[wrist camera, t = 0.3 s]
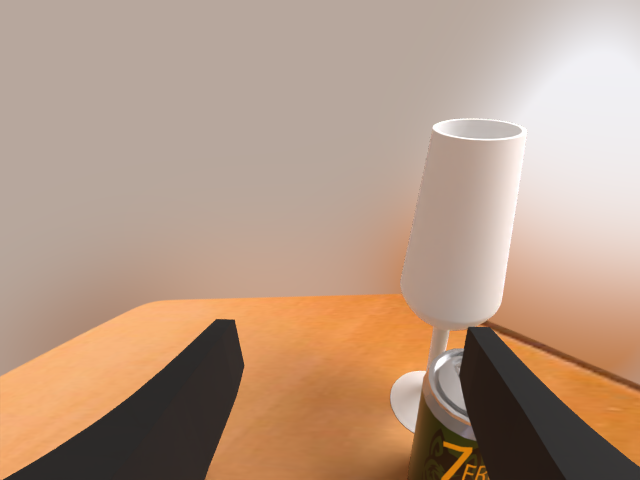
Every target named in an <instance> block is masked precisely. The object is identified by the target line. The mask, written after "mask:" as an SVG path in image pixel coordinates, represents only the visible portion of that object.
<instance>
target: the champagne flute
mask: <svg viewBox="0 0 640 480" xmlns="http://www.w3.org/2000/svg"><path fill="white" fill-rule="evenodd" d="M526 137H527V129H526V128H524V127H523V126H520V125H518V124H514V123H510V122H506V121H499V120H490V119H455V120H447V121H442V122H439V123H437V124H435V125H434V126H433V129H432V134H431V139H430V144H429V148H428V153H427V158H426V163H425V167H424V172H423V177H422V181H421V186H420V191H419V196H418V200H417V205H416V210H415V215H414V219H413V224H412V229H411V234H410V238H409V243H408V248H407V253H406V258H405V262H404V267H403V271H402V276H401V281H400V285H401V291H402V294H403V297H404V299H405V301H406V302H407V304H408V305H409V307H410V308H411V309H412V311H413V312H414V313H415V314H416V315H417V316H418V317H419V318H420V319H421V320H423V321H425V322H426V323H428V324H430V325H432V326H433V327H434V328H433V334H432V340H431V346H430V352H429V358H428V364H427V370H428V368H429V367H430V365H431V363H432V362H433V360H434V358H436V357H437V356H438V355H440V354H441V353H442V352H445V351H446V346H447V341H448V336H449V331H458V330H466V329H468V327H475V326H477V325H479V324H481V323H483V322H485V321H486V320H488V319H489V318H491V317H492V316H493V315H494V314H495V313H496V311H497V310H498V308H499V307H500V305H501V301H502V295H503V289H504V282H505V275H506V268H507V262H508V255H509V249H510V242H511V236H512V229H513V222H514V216H515V209H516V202H517V196H518V190H519V183H520V177H521V170H522V164H523V157H524V150H525V144H526ZM427 370H426V371H414V372H410V373H407V374H405V375H403V376H401V377H400V378H399V379H398V380H397V381H396V382H395V383H394V385H393V387H392V389H391V394H390V400H391V406H392V409H393V411H394V413H395V415H396V417H397V418H398V419H399V421H400V422H401V423H402V424H403V425H404V426H405V427H406V428H407V429H409V430H410V431H412V432H413V433H414V432H415V426H416V420H417V414H418V408H419V401H420V395H421V389H422V383H423V377H424V375H425V374H426V372H427Z"/></svg>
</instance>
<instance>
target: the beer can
mask: <svg viewBox="0 0 640 480" xmlns="http://www.w3.org/2000/svg"><path fill="white" fill-rule="evenodd" d="M463 351H464V349H451V350H448V351H445V352H442V353H441V354H440V355H438V356H437V357H436V358H434V360H433V362H432V363H431V365H430V367H429V368H428V370H427V372H426V374H425V375H424V377H423V383H422V389H421V395H420V401H419V408H418V414H417V420H416V426H415V432H414V439H413V445H412V451H411V457H410V463H409V470H408V480H489V477H488V474H487V471H486V468H485V465H484V462H483V459H482V456H481V453H480V450H479V447H478V444H477V441H476V438H475V435H474V432H473V429H472V426H471V423H470V420H469V417H468V414H467V411H466V407H465V402H464V398H463V393H462V388H461V383H460V378H459V372H460V367H461V362H462V356H463Z"/></svg>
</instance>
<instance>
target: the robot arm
mask: <svg viewBox="0 0 640 480" xmlns="http://www.w3.org/2000/svg"><path fill="white" fill-rule="evenodd" d="M243 369H244V362H243V357H242V352H241V348H240V343H239V338H238V333H237V329H236V324H235V320H227V319H216V320H215V321H214V322H213V323H212V324H211V325H210V326H209V327H207V328H206V329H205V330H204V331H203V332H202V333H201V334H200V335H199V336H198V337H197V338H196V339H195V340H194V341H193V342H192V343H191V344H190V345H188V346H187V347H186V348H185V349H184V350H183V351H182V352H181V353H180V354H179V355H178V356H177V357H176V358H174V359H173V360H172V361H171V362H170V363H169V364H168V365H167V366H166V367H165V368H163V369H162V370H161V371H160V372H159V373H158V374H156V375H155V376H154V377H153V378H152V379H150V380H149V381H148V382H147V383H146V384H145V385H143V386H142V387H141V388H140V389H139V390H138V391H136V392H135V393H134V394H133V395H131V396H130V397H129V398H127V399H126V400H125V401H124V402H122V403H121V404H120V405H118V406H117V407H116V408H114V409H113V410H112V411H110V412H109V413H107V414H106V415H105V416H103V417H102V418H101V419H99V420H98V421H96V422H95V423H94V424H92V425H91V426H89V427H88V428H86V429H85V430H83V431H81V432H80V433H78V434H77V435H75V436H74V437H72V438H71V439H69V440H68V441H66V442H65V443H63V444H62V445H60V446H59V447H57V448H56V449H54V450H52V451H51V452H49V453H48V454H46V455H44V456H43V457H41V458H39V459H38V460H36V461H34V462H33V463H31V464H29V465H28V466H26V467H24V468H23V469H21V470H19V471H17V472H16V473H14V474H12V475H10V476H9V477H7V478H5V479H3V480H205V477H206V474H207V471H208V468H209V466H210V463H211V461H212V458H213V456H214V453H215V451H216V448H217V445H218V443H219V440H220V438H221V435H222V433H223V430H224V428H225V425H226V422H227V420H228V417H229V415H230V412H231V409H232V407H233V404H234V402H235V399H236V396H237V392H238V389H239V385H240V381H241V377H242V373H243ZM459 378H460V383H461V388H462V393H463V398H464V402H465V407H466V411H467V414H468V417H469V420H470V423H471V426H472V429H473V432H474V435H475V438H476V441H477V444H478V447H479V450H480V453H481V456H482V459H483V462H484V465H485V468H486V471H487V474H488V477H489V480H640V467H639V466H637V465H636V464H635V463H634V462H632V461H631V460H630V459H628V458H627V457H626V456H625V455H624V454H622V453H621V452H620V451H619V450H617V449H616V448H615V447H614V446H613V445H611V444H610V443H609V442H608V441H606V440H605V439H604V438H603V437H602V436H600V435H599V434H598V433H597V432H596V431H594V430H593V429H592V428H591V427H590V426H589V425H587V424H586V423H585V422H584V421H583V420H582V419H581V418H580V417H578V416H577V415H576V414H575V413H574V412H573V411H572V410H571V409H570V408H569V407H568V406H566V405H565V404H564V403H563V402H562V401H561V400H560V399H559V398H558V397H557V396H556V395H555V394H554V393H553V392H552V391H551V390H550V389H549V388H548V387H547V386H546V385H545V384H544V383H543V382H542V381H541V380H540V379H539V378H538V377H537V376H536V375H535V374H534V373H533V372H532V371H531V370H530V369H529V368H528V367H527V366H526V365H525V364H524V363H523V362H522V361H521V360H520V359H519V358H518V357H517V356H516V355H515V354H514V353H513V352H512V350H511V349H510V348H509V347H508V346H507V345H506V344H505V343H504V342H503V341H502V340H501V339H500V338H499V337H498V335H497V334H496V333H495V332H494V331H493V330H492V329H491V328H490V327H468V330H467V335H466V341H465V346H464V351H463V356H462V362H461V367H460V372H459Z"/></svg>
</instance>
